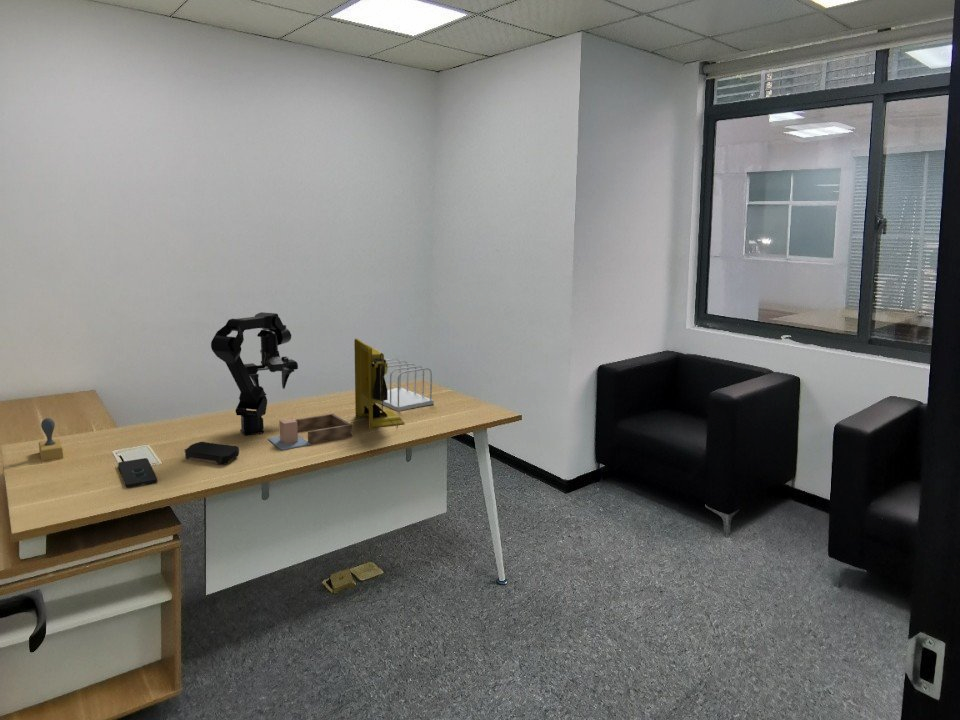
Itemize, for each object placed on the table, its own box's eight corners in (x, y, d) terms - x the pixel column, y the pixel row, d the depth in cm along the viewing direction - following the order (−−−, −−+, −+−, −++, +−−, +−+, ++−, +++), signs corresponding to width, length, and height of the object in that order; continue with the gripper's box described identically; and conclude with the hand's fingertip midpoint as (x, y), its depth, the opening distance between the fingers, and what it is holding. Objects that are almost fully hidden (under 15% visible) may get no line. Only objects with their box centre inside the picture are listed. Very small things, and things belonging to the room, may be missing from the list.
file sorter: (365, 397, 289) (364, 361, 286) (400, 391, 300) (400, 356, 297) (397, 411, 270) (397, 372, 267) (434, 404, 281) (434, 367, 278)
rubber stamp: (39, 452, 216) (35, 415, 214) (61, 449, 220) (57, 413, 217) (41, 462, 208) (37, 423, 206) (63, 458, 212) (59, 420, 209)
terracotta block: (284, 444, 228) (284, 423, 226) (280, 440, 231) (279, 420, 230) (297, 441, 230) (297, 421, 229) (293, 438, 234) (292, 418, 233)
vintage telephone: (413, 431, 245) (413, 348, 239) (375, 436, 239) (374, 351, 233) (386, 408, 273) (386, 333, 267) (351, 412, 267) (350, 335, 261)
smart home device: (125, 484, 190) (117, 462, 206) (125, 490, 190) (117, 467, 207) (158, 478, 194) (147, 457, 211) (158, 484, 195) (148, 462, 211)
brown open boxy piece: (309, 443, 230) (308, 432, 229) (291, 431, 243) (291, 420, 242) (352, 436, 239) (351, 424, 238) (333, 424, 252) (332, 413, 251)
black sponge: (242, 457, 216) (242, 446, 216) (225, 466, 208) (224, 455, 208) (199, 451, 221) (198, 440, 220) (180, 460, 213) (179, 448, 213)
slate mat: (281, 450, 223) (281, 449, 223) (267, 439, 233) (267, 438, 233) (310, 444, 229) (310, 443, 229) (296, 434, 239) (296, 433, 239)
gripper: (250, 354, 235) (252, 398, 238) (303, 349, 246) (304, 391, 249) (240, 348, 244) (242, 391, 247) (291, 344, 255) (293, 385, 258)
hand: (271, 390), depth 250 cm, fingers open, 9 cm apart
